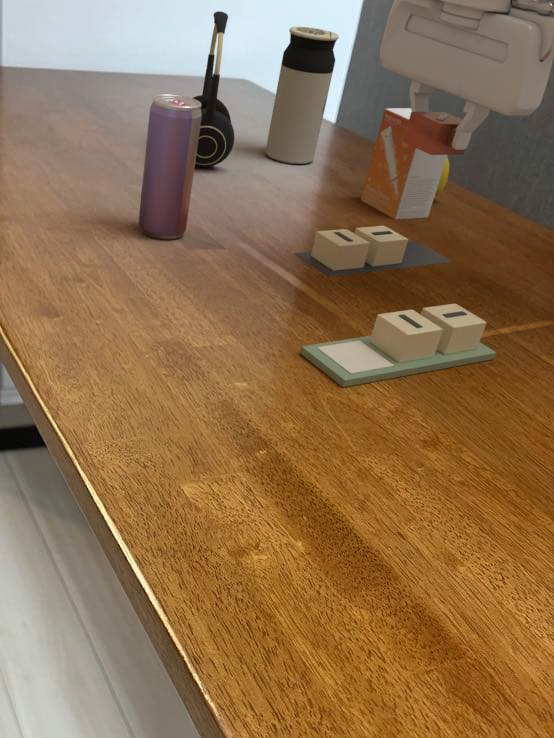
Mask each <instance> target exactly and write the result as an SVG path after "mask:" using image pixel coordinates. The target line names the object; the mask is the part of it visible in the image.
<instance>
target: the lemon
mask: <svg viewBox="0 0 554 738" xmlns="http://www.w3.org/2000/svg"><path fill="white" fill-rule="evenodd" d="M449 173H450V161H449V158H448V157H447V159H446V162H445V165H444V168H443V171H442V174H441V178H440V181H439V184H438V187H437V190H436V194H435V197H434V199H435V198H436V197H438V196H439V195H440V194H441V193H442V192H443V190H444V189H445V186H446V185H447V182H448V178H449Z"/></svg>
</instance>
